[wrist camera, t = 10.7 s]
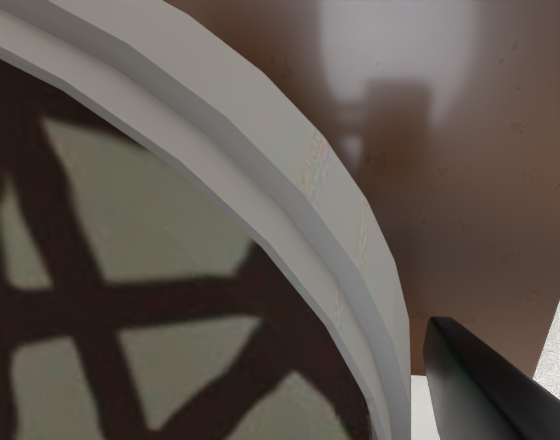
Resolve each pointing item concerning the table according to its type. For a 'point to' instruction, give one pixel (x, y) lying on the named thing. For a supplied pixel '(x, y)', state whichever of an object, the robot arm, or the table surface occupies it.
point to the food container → (180, 244)
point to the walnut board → (433, 142)
